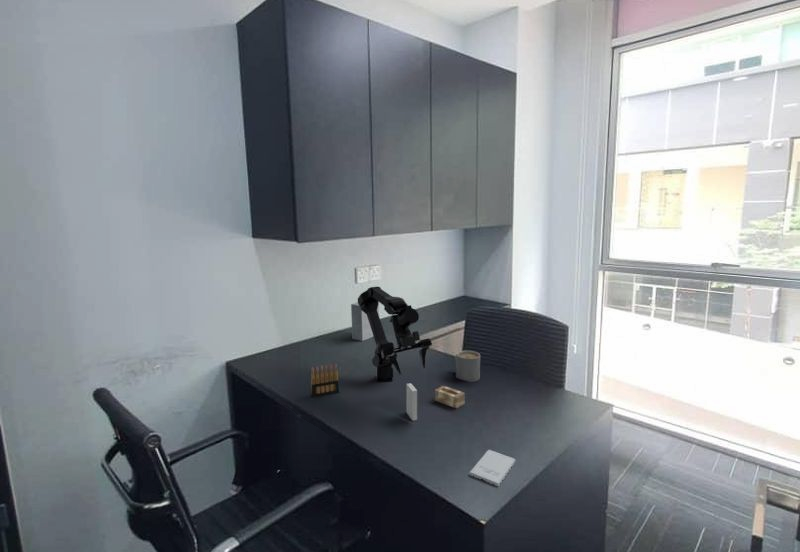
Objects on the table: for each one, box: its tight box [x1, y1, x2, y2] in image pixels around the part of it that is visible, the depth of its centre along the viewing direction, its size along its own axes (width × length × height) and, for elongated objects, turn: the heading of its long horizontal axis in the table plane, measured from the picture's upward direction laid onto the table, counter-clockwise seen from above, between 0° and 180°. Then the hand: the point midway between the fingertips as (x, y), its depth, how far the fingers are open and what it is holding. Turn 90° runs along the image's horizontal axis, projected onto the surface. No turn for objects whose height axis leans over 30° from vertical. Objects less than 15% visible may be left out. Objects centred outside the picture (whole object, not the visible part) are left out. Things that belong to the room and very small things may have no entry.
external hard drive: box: [468, 449, 516, 487], centre depth 111 cm, size 2×8×12 cm
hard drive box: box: [350, 301, 380, 342], centre depth 227 cm, size 16×8×20 cm, turn 144°
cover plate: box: [406, 383, 418, 421], centre depth 138 cm, size 6×2×11 cm, turn 19°
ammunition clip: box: [310, 362, 340, 398], centre depth 156 cm, size 11×2×12 cm, turn 113°
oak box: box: [434, 385, 466, 409], centre depth 149 cm, size 10×5×4 cm, turn 48°
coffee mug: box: [454, 350, 481, 383], centre depth 173 cm, size 13×10×10 cm
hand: (412, 371), depth 150 cm, fingers open, 9 cm apart
